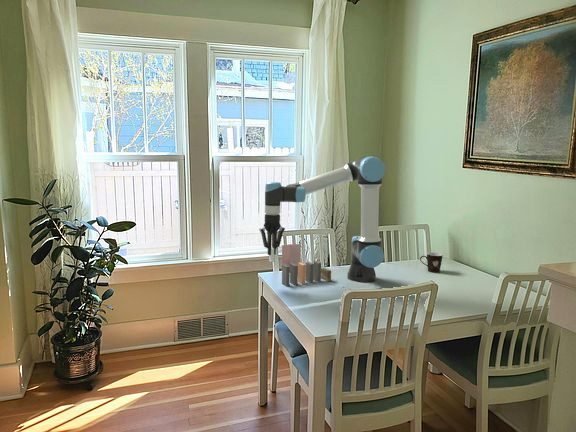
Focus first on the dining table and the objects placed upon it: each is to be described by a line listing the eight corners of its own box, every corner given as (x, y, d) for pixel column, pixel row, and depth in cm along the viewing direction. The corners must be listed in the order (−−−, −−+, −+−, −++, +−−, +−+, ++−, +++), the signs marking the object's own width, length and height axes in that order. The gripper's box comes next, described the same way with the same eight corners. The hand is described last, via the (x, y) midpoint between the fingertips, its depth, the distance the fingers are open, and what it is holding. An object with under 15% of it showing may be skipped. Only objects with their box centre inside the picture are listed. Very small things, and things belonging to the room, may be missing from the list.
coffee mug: (443, 270, 250) (444, 253, 248) (439, 274, 243) (440, 256, 241) (422, 267, 256) (423, 251, 255) (418, 270, 249) (419, 253, 247)
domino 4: (316, 279, 229) (316, 260, 228) (320, 281, 225) (321, 263, 223) (313, 279, 228) (313, 261, 227) (317, 282, 224) (318, 263, 222)
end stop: (324, 277, 232) (324, 266, 231) (330, 281, 226) (331, 270, 225) (320, 278, 231) (321, 267, 231) (327, 281, 225) (327, 270, 224)
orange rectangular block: (302, 284, 220) (302, 265, 219) (297, 281, 224) (298, 262, 223) (305, 283, 221) (305, 264, 219) (300, 281, 225) (301, 262, 224)
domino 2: (293, 282, 223) (293, 263, 222) (297, 284, 219) (297, 265, 217) (289, 282, 223) (290, 263, 221) (294, 285, 218) (294, 265, 217)
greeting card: (299, 269, 249) (300, 243, 247) (305, 272, 243) (305, 246, 241) (281, 271, 245) (281, 244, 243) (286, 274, 238) (286, 247, 236)
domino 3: (308, 280, 227) (308, 261, 226) (313, 282, 223) (313, 263, 221) (305, 280, 226) (305, 262, 225) (310, 283, 222) (310, 264, 221)
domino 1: (285, 283, 221) (285, 264, 220) (289, 286, 217) (289, 266, 216) (281, 283, 221) (282, 264, 219) (286, 286, 216) (286, 266, 215)
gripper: (281, 212, 217) (280, 258, 220) (257, 213, 211) (256, 260, 214) (287, 214, 210) (286, 262, 213) (262, 215, 204) (262, 264, 208)
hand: (271, 261), depth 214 cm, fingers closed
